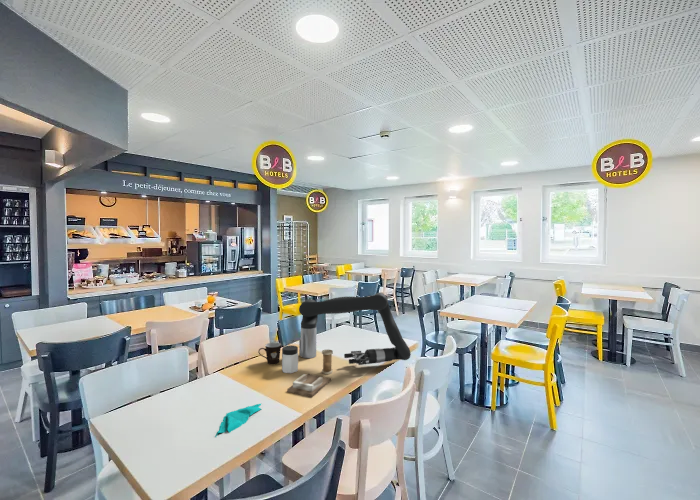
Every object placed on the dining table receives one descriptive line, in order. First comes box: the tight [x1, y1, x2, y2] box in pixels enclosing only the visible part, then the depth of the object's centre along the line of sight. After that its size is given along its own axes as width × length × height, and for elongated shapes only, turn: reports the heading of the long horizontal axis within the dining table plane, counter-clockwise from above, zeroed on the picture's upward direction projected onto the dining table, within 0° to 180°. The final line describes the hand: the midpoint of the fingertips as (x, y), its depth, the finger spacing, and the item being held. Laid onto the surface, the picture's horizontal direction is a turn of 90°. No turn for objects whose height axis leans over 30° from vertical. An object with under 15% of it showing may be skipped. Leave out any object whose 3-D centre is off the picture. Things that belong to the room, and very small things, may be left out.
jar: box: [281, 344, 299, 374], centre depth 178 cm, size 9×8×12 cm
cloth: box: [215, 403, 262, 438], centre depth 131 cm, size 26×14×2 cm, turn 145°
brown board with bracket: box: [286, 373, 332, 398], centre depth 160 cm, size 13×19×4 cm
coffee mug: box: [258, 342, 282, 365], centre depth 189 cm, size 12×9×10 cm
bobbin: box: [321, 349, 334, 375], centre depth 176 cm, size 6×6×11 cm
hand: (346, 358), depth 179 cm, fingers open, 8 cm apart
